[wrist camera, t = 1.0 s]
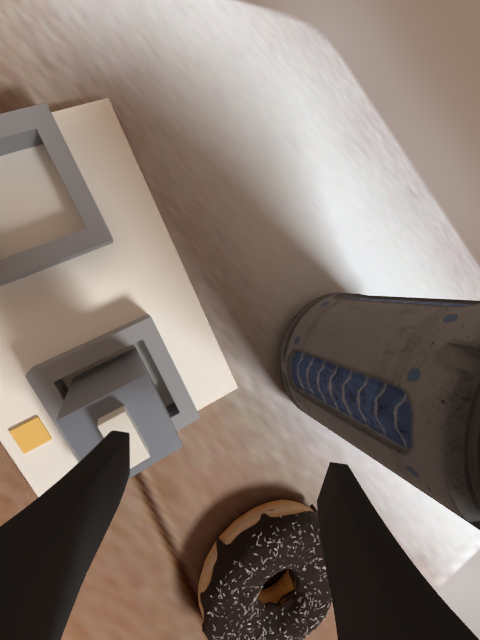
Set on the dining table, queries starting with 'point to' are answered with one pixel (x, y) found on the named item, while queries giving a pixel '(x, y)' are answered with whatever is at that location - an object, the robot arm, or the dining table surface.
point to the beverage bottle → (395, 386)
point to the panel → (87, 282)
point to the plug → (119, 411)
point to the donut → (266, 576)
